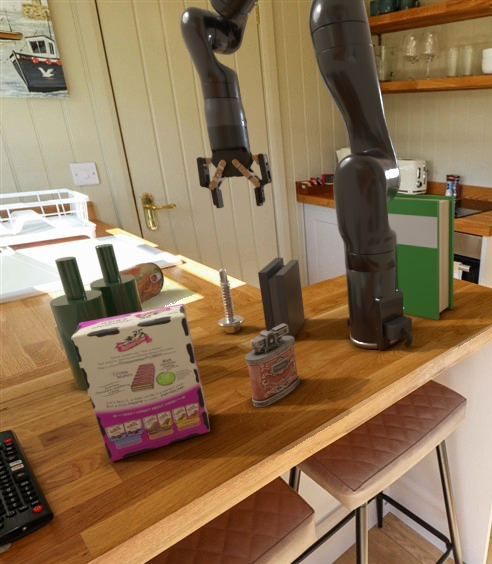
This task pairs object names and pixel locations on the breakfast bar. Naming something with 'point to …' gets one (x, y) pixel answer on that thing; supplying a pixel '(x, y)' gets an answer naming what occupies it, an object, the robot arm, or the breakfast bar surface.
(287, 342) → the lighter
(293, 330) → the dark grey grooved block
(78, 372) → the wine bottles
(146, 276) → the tin
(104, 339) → the candy bar box
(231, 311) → the screw
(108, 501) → the breakfast bar surface
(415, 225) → the hardback book
